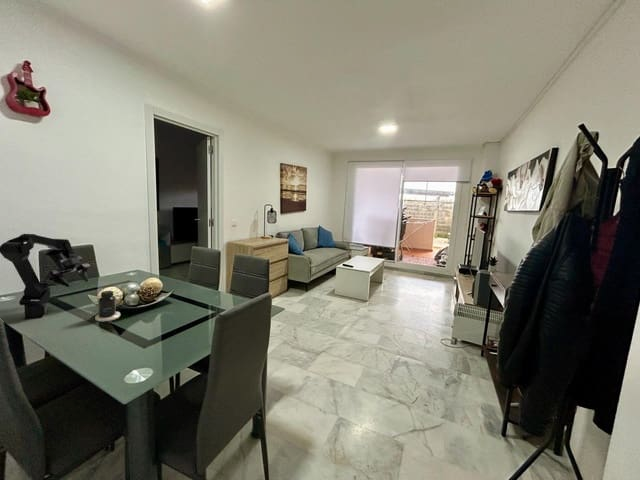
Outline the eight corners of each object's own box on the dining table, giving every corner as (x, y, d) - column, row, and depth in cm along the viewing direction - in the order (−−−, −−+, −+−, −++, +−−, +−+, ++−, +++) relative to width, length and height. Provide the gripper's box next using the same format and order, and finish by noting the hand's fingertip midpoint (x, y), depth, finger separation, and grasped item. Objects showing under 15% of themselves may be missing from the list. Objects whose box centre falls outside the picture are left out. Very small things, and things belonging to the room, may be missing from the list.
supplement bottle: (106, 318, 132) (105, 295, 130) (95, 316, 133) (94, 293, 132) (119, 313, 138) (118, 291, 137) (108, 311, 140) (108, 289, 138)
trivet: (93, 322, 129) (93, 320, 129) (97, 314, 138) (97, 312, 138) (118, 319, 134) (118, 317, 134) (121, 312, 143) (121, 310, 143)
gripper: (47, 255, 131) (66, 279, 131) (87, 248, 149) (104, 270, 149) (36, 268, 134) (55, 292, 133) (76, 261, 152) (93, 282, 152)
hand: (78, 283), depth 142 cm, fingers open, 9 cm apart
